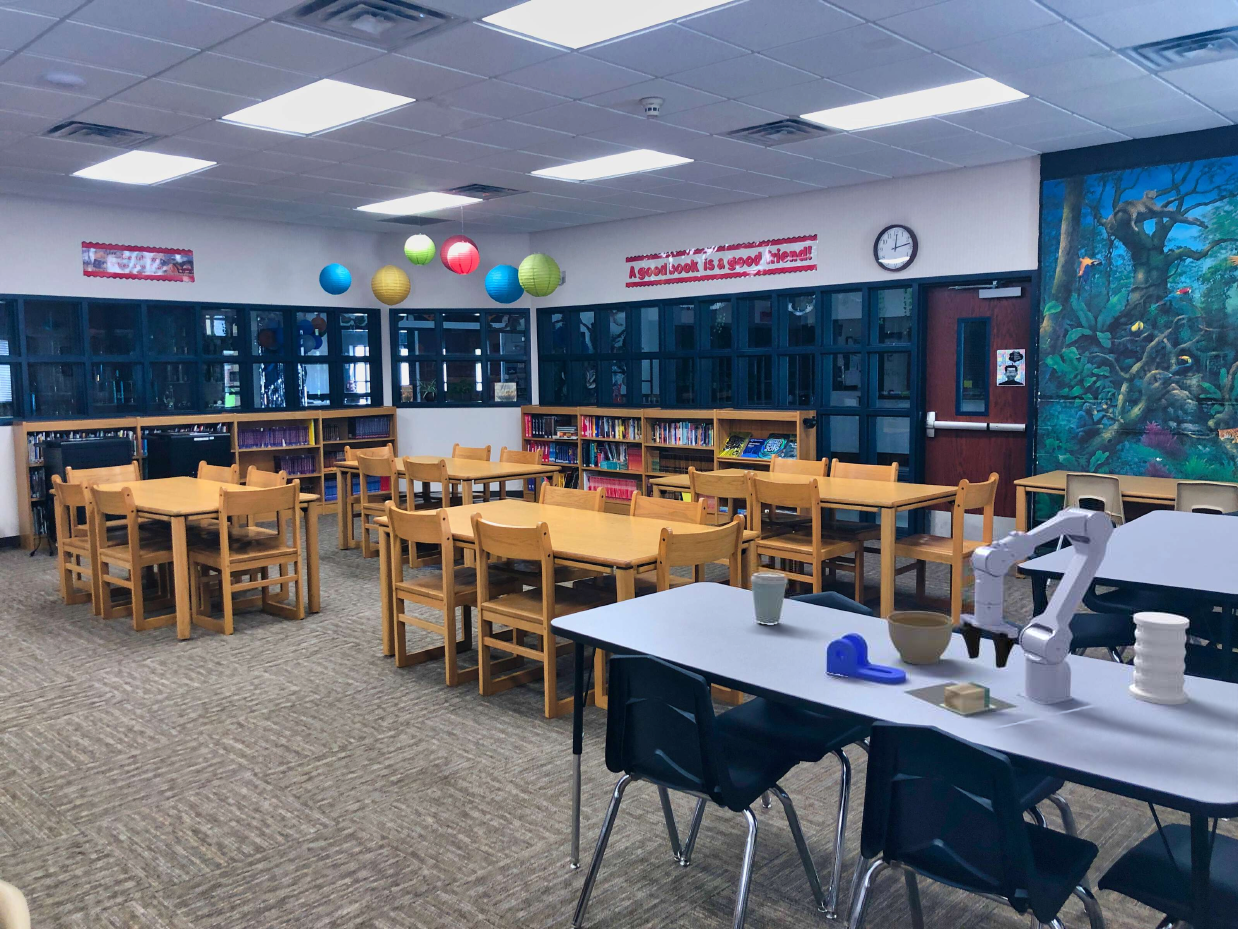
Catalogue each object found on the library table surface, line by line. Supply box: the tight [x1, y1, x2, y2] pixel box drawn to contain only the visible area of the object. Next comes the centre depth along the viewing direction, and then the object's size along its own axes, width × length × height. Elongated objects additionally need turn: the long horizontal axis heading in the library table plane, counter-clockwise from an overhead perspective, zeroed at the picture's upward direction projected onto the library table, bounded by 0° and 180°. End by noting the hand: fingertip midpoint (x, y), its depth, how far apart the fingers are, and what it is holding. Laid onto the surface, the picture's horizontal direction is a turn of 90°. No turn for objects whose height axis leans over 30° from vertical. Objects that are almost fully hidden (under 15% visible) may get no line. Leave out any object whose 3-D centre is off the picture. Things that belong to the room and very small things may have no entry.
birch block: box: [944, 681, 991, 712], centre depth 210 cm, size 5×8×4 cm, turn 116°
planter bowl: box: [886, 610, 955, 665], centre depth 245 cm, size 16×16×11 cm
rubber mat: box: [903, 681, 1018, 718], centre depth 215 cm, size 15×19×1 cm
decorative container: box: [1128, 611, 1190, 706], centre depth 216 cm, size 12×12×18 cm
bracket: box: [826, 632, 907, 685], centre depth 233 cm, size 18×8×9 cm, turn 52°
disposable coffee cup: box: [750, 572, 788, 623], centre depth 284 cm, size 11×11×15 cm
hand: (987, 662), depth 212 cm, fingers open, 7 cm apart
